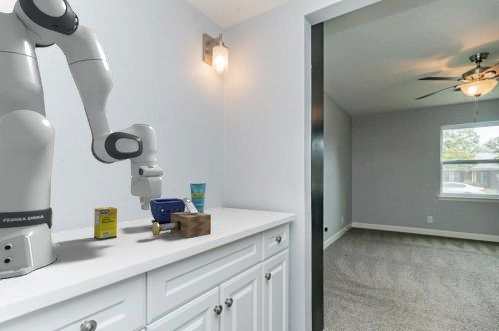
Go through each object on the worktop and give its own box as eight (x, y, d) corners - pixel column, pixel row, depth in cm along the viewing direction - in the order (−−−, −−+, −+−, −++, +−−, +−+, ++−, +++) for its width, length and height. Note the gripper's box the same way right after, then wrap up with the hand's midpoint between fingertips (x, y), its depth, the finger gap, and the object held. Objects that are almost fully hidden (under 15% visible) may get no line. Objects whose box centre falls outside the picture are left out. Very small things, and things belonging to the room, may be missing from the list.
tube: (191, 227, 112) (192, 183, 113) (188, 225, 116) (188, 183, 117) (207, 225, 116) (207, 183, 117) (203, 223, 120) (203, 182, 121)
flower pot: (186, 227, 113) (187, 200, 113) (155, 230, 105) (156, 201, 106) (177, 222, 124) (177, 197, 124) (148, 225, 116) (148, 199, 117)
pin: (156, 236, 90) (156, 223, 90) (151, 234, 93) (151, 221, 93) (190, 230, 99) (191, 219, 99) (185, 229, 102) (185, 217, 102)
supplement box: (117, 237, 93) (117, 207, 94) (98, 240, 89) (99, 209, 89) (111, 235, 97) (111, 206, 98) (93, 238, 93) (94, 208, 93)
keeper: (190, 214, 98) (191, 212, 98) (181, 199, 104) (182, 198, 103) (197, 213, 100) (198, 212, 100) (188, 199, 106) (189, 197, 105)
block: (187, 238, 92) (187, 217, 93) (170, 231, 103) (170, 213, 103) (210, 233, 99) (210, 214, 99) (192, 228, 109) (192, 210, 110)
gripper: (125, 171, 95) (126, 208, 95) (145, 170, 80) (146, 214, 80) (143, 170, 99) (143, 206, 99) (165, 170, 84) (166, 211, 84)
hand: (145, 209), depth 89 cm, fingers closed
